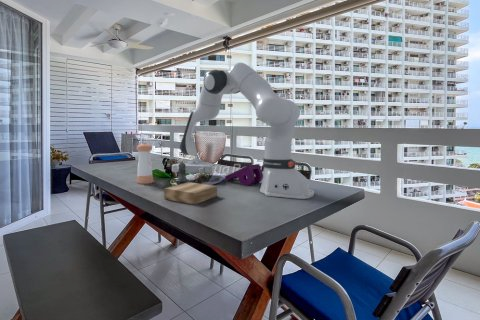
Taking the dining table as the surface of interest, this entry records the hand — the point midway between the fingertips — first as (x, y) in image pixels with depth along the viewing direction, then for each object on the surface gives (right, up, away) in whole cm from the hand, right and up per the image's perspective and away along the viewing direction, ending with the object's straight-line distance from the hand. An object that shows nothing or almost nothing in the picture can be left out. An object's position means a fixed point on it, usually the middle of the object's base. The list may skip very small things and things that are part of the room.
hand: (188, 170), depth 128 cm
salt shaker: (-21, -6, +3) cm, 22 cm away
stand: (+6, -9, -25) cm, 27 cm away
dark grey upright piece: (-1, -8, -8) cm, 11 cm away
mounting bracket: (+25, -7, +7) cm, 27 cm away
